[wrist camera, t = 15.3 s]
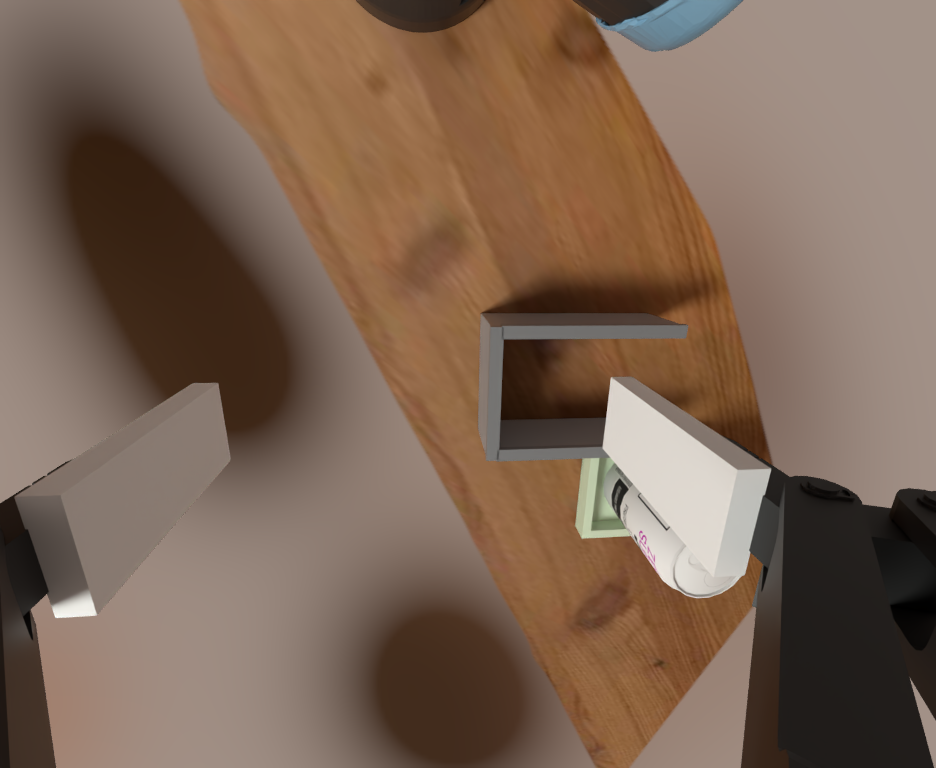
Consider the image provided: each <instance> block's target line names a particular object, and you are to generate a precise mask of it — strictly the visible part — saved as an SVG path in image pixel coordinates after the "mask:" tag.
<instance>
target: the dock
mask: <svg viewBox="0 0 936 768" xmlns="http://www.w3.org/2000/svg"><path fill="white" fill-rule="evenodd" d="M687 329H688V325H686V324H678V323H675V322H672V321H669V320H666V319H663V318H660V317H657V316H654V315H651V314H648V313H481V326H480V368H479V409H478V431H479V434H480V437H481V441H482V444H483V447H484V451H485V454H486V461H524V460H554V459H584V458H610V457H609V455H608V454H607V453H606V452H605V451H604V450H603V440H604V432H605V424H606V418H569V419H527V420H500V417H501V392H502V368H503V343H504V339H643V338H686V335H687Z"/></svg>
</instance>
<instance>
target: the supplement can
mask: <svg viewBox="0 0 936 768" xmlns="http://www.w3.org/2000/svg"><path fill="white" fill-rule="evenodd" d="M603 488H604V496H605V498H606V500H607V502H608V504H609V505H610V506H611V508H612V509H613V511H614V512H615V513H616V515H617V516H618V518H619V519H620V521H621V522H622V523H623V525H624V526H625V528H626V529H627V530H628V532H629V533H630V535H631V536H632V538H633V539H634V540H635V542H636V543H637V545H638V546H639V548H640V549H641V550H642V552H643V553H644V555H645V556H646V557H647V559H648V560H649V562H650V563H651V565H652V566H653V567H654V569H655V570H656V572H657V573H658V575H659V576H660V577H661V579H662V580H663V581H664V582H665V583H667V584H668V585H669V586H671V587H672V588H674V589H676V590H679V591H681V592H682V593H683V594H685V595H687V596H690V597H694V598H708V597H712V596H715V595H718V594H721V593H723V592H724V591H726V590H727V589H729V588H730V587H732V586H733V585H734V584H735V583H736V582H737V581H738V579H739V578H740V577H741V576H726V577H713V576H712V575H711V574H710V573H709V572H708V570H707V569H706V568H705V567H704V566H703V565H702V563H701V562H700V561H699V560H698V559H697V558H696V556H695V555H694V554H693V553H692V552H691V551H690V550H689V548H688V547H687V546H686V545H685V544H684V543H683V541H682V540H681V539H680V538H679V537H678V536H677V534H676V533H675V532H674V531H673V530H672V529H671V527H670V526H669V525H668V524H667V523H666V522H665V520H664V519H663V518H662V517H661V516H660V515H659V513H658V512H657V511H656V510H655V509H654V508H653V507H652V505H651V504H650V503H649V502H648V501H647V500H646V498H645V497H644V496H643V495H642V494H641V493H640V491H639V490H638V489H637V488H636V487H635V486H634V484H633V483H632V482H631V481H630V480H629V479H628V477H627V476H626V475H625V474H624V473H623V472H622V470H621V469H620V468H619V467H618V466H617V465H616V464H615V463H614V464H613V466H612V467H611V468H610V470H609V471H608V472H607V474H606V477H605V480H604V483H603Z"/></svg>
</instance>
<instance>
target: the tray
mask: <svg viewBox="0 0 936 768" xmlns="http://www.w3.org/2000/svg"><path fill="white" fill-rule="evenodd" d="M614 463H615V462H614V461H613V460H612V459H611V458H584V459H582V468H581V477H580V487H579V496H578V506H577V515H576V525H575V526H576V528H577V530H578V532H579V534H580V536H581V538H600V537H619V536H631V535H630V533H629V532H628V530H627V529H626V528H625V526H624V525H623V523H622V522H621V521H620V519H619V518H618V516H617V515H616V513H615V512H614V511H613V509H612V508H611V506H610V505H609V504H608V502H607V500H606V498H605V496H604V488H603V483H604V480H605V477H606V474H607V472H608V471H609V470H610V468H611V467H612V466H613V464H614Z"/></svg>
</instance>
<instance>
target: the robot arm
mask: <svg viewBox="0 0 936 768" xmlns="http://www.w3.org/2000/svg"><path fill="white" fill-rule="evenodd" d="M356 1H357V2H358V3H359V4H360V5H361V6H362V7H363V8H364V9H365V10H366V11H368V12H369V13H370V14H372V15H373V16H374V17H376V18H377V19H379V20H381V21H382V22H384V23H386V24H388V25H390V26H393V27H396V28H398V29H402V30H406V31H411V32H434V31H439V30H443V29H446V28H449V27H451V26H454V25H456V24H458V23H459V22H461V21H463V20H464V19H466V18H467V17H468V16H470V15H471V14H472V13H473V12H474V11H475V10H476V9H478V8H479V6H480V5H481V4H482V3H483V2H484V1H485V0H356ZM573 1H574V2H576V3H577V4H578V5H580V6H581V7H583V8H584V9H585V10H587V11H588V12H590V13H591V14H592V15H594V16H595V17H596V22H597V23H598V24H599V25H600V26H601V27H602V28H604V29H607V30H611V31H616V32H618V33H620V34H621V35H623V36H624V37H626V38H627V39H629V40H631V41H632V42H634V43H635V44H637V45H638V46H640V47H642V48H643V49H645V50H649V51H655V52H656V51H663V50H672V49H676V48H678V47H680V46H683V45H685V44H687V43H689V42H691V41H692V40H694V39H696V38H697V37H699V36H701V35H702V34H703V33H705V32H706V31H708V30H709V29H710V28H712V27H713V26H714V25H716V24H717V23H718V22H719V21H721V20H722V19H723V18H724V17H725V16H727V15H728V14H729V13H730V12H731V11H732V10H733V9H734V8H736V7H737V6H738V5H739V4H740V3H741V2H742V1H743V0H573ZM603 450H604V451H605V452H606V453H607V454H608V455H609V457H610V458H611V459H612V460H613V461H614V462H615V464H616V465H617V466H618V467H619V468H620V469H621V470H622V472H623V473H624V474H625V475H626V476H627V477H628V479H629V480H630V481H631V482H632V483H633V484H634V486H635V487H636V488H637V489H638V490H639V491H640V493H641V494H642V495H643V496H644V497H645V498H646V500H647V501H648V502H649V503H650V504H651V505H652V507H653V508H654V509H655V510H656V511H657V512H658V513H659V515H660V516H661V517H662V518H663V519H664V520H665V522H666V523H667V524H668V525H669V526H670V527H671V529H672V530H673V531H674V532H675V533H676V534H677V536H678V537H679V538H680V539H681V540H682V541H683V543H684V544H685V545H686V546H687V547H688V548H689V550H690V551H691V552H692V553H693V554H694V555H695V556H696V558H697V559H698V560H699V561H700V562H701V563H702V565H703V566H704V567H705V568H706V569H707V570H708V572H709V573H710V574H711V575H712V576H713V577H726V576H743V575H745V572H746V568H747V564H748V560H749V556H750V552H751V553H752V554H753V555H754V556H755V557H756V558H757V559H758V560H759V561H760V562H761V563H762V564H763V566H762V570H761V574H760V578H759V581H758V585H757V589H756V593H755V597H754V600H753V604H752V606H753V607H756V618H755V628H754V639H753V648H752V659H751V669H750V679H749V690H748V700H747V710H746V721H745V731H744V741H743V752H742V763H741V768H934V766H933V762H932V759H931V755H930V752H929V748H928V744H927V741H926V736H925V733H924V729H923V725H922V722H921V718H920V714H919V711H918V707H917V703H916V700H915V696H914V692H913V689H912V685H911V681H910V678H911V680H912V682H913V683H914V685H915V687H916V688H917V690H918V692H919V693H920V695H921V697H922V698H923V700H924V702H925V703H926V705H927V706H928V708H929V710H930V712H931V713H932V715H933V717H934V718H935V720H936V491H926V490H920V489H910V488H908V489H901V490H899V491H898V492H897V494H896V496H895V500H894V502H893V505H892V508H885V507H877V506H869V505H862V501H861V500H860V499H859V497H858V496H857V495H856V494H855V493H853V492H852V491H850V490H849V489H847V488H845V487H842V486H840V485H838V484H836V483H833V482H830V481H827V480H824V479H820V478H814V477H808V476H793V477H789V476H788V475H786V474H785V473H783V472H782V471H780V470H778V469H777V468H775V467H774V466H772V465H771V464H769V463H768V462H766V461H765V460H763V459H759V457H758V456H757V455H755V454H754V453H752V452H751V451H748V449H746V448H745V447H743V446H741V445H740V444H738V443H737V442H735V441H734V440H731V439H729V438H726V437H724V436H721V435H719V434H718V433H716V432H715V431H713V430H712V429H710V428H709V427H707V426H706V425H704V424H703V423H701V422H700V421H698V420H697V419H695V418H694V417H692V416H691V415H689V414H688V413H686V412H685V411H683V410H682V409H680V408H678V407H677V406H675V405H674V404H672V403H671V402H669V401H668V400H666V399H665V398H663V397H662V396H660V395H659V394H657V393H656V392H654V391H653V390H651V389H650V388H648V387H647V386H645V385H644V384H642V383H641V382H639V381H638V380H636V379H634V378H633V377H611V382H610V390H609V398H608V407H607V415H606V424H605V432H604V440H603ZM230 460H231V459H230V452H229V447H228V441H227V435H226V428H225V422H224V416H223V410H222V404H221V398H220V392H219V386H218V383H193V384H191V385H190V386H188V387H187V388H185V389H183V390H182V391H180V392H179V393H177V394H175V395H174V396H172V397H171V398H169V399H168V400H166V401H164V402H163V403H161V404H160V405H158V406H157V407H155V408H153V409H152V410H150V411H149V412H147V413H145V414H144V415H142V416H141V417H139V418H138V419H136V420H135V421H133V422H131V423H130V424H128V425H127V426H125V427H123V428H122V429H121V430H119V431H117V432H116V433H114V434H112V435H111V436H109V437H108V438H106V439H105V440H103V441H101V442H100V443H98V444H97V445H95V446H94V447H92V448H90V449H89V450H87V451H86V452H84V453H83V454H81V455H79V456H78V457H76V458H75V459H73V460H70V461H68V462H65V463H64V464H62V465H61V466H59V467H57V468H56V469H54V470H53V471H51V472H49V473H48V474H47V476H43V477H42V478H40V479H38V480H37V481H35V482H33V483H32V486H27V487H26V488H24V489H22V490H21V491H19V492H18V493H16V494H14V495H13V496H11V497H10V498H8V499H7V500H5V501H3V502H2V503H0V768H56V764H55V757H54V750H53V743H52V736H51V729H50V722H49V715H48V708H47V700H46V693H45V686H44V679H43V672H42V665H41V658H40V650H39V644H38V637H37V629H36V624H35V621H34V618H33V615H32V613H31V610H30V609H31V608H32V607H34V606H35V604H37V603H38V602H39V601H40V600H41V599H42V598H43V597H44V596H45V595H46V594H47V595H48V597H49V600H50V603H51V606H52V609H53V612H54V615H55V618H64V617H78V616H96V615H98V614H99V612H100V611H101V610H102V609H103V608H104V607H105V606H106V604H107V603H108V602H109V601H110V600H111V599H112V597H113V596H114V595H115V594H116V593H117V592H118V590H119V589H120V588H121V587H122V586H123V585H124V583H125V582H126V581H127V580H128V579H129V578H130V577H131V575H132V574H133V573H134V572H135V570H136V569H137V568H138V567H139V566H140V565H141V563H142V562H143V561H144V560H145V559H146V558H147V557H148V555H149V554H150V553H151V552H152V551H153V550H154V549H155V547H156V546H157V545H158V544H159V543H160V542H161V540H162V539H163V538H164V537H165V536H166V535H167V534H168V532H169V531H170V530H171V529H172V528H173V526H174V525H175V524H176V523H177V522H178V521H179V519H180V518H181V517H182V516H183V515H184V513H186V511H187V510H188V509H189V508H190V507H191V506H192V504H193V503H194V502H195V501H196V500H197V499H198V497H199V496H200V495H201V494H202V493H203V492H204V491H205V489H206V488H207V487H208V486H209V485H210V483H211V482H212V481H213V480H214V479H215V478H216V476H217V475H218V474H219V473H220V472H221V470H223V468H224V467H225V466H226V465H227V464H228V463H229V461H230ZM909 677H910V678H909Z"/></svg>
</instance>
